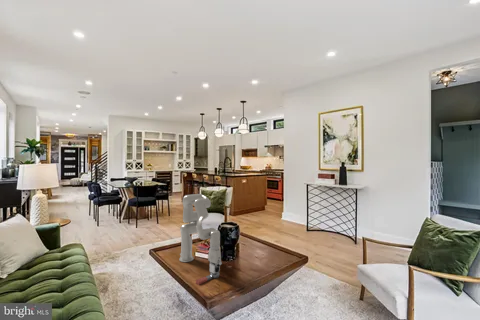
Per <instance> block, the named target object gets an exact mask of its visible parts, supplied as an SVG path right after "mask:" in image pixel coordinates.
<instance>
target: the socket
mask: <svg viewBox="0 0 480 320" xmlns="http://www.w3.org/2000/svg"><path fill="white" fill-rule="evenodd" d="M217 265H218V264H217ZM220 268H221V265H220V266H219V272H220V270H221V269H220ZM210 272H212V273H214V274H215V273H216V264H214V263H210V262H209V273H210Z"/></svg>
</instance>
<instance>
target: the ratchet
mask: <svg viewBox="0 0 480 320" xmlns="http://www.w3.org/2000/svg"><path fill="white" fill-rule="evenodd" d="M219 277H220V271H219V272H217V273H215V274H214V273H212V272H210V271H209V275H206V276H202V277H200V278H198V279H196V280H195V284H196V285H198V286H200V285H202V284H204V283H206V282H209V280H210V281H211V280H212V279H218V278H219Z"/></svg>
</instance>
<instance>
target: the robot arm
mask: <svg viewBox="0 0 480 320" xmlns="http://www.w3.org/2000/svg"><path fill="white" fill-rule="evenodd" d="M211 205H212V202H211V200H210V199H209V197H207V196H206V195H205V194H202V193H195V194H193V193H192V194H185V195H184V196H183V197H182V206H183V209H182V221H183V223H185V224H183V225H181V226H180V229H179V231H180V239H181V241H180V244H181V245H180V246H181V247H180V249H181V250H180V253H179V255H180V257H179V260H178V261H179V262H182V263H190V262H192V261H194V256H193V238H192V236H191V235H194V234H198V235H197V236H198V237H199V239H200V240H208V239H209V249H208V253H207V254H208V255H207V256H208V257H207V260H208V262H209V264H210V263H214V264H216V273H217V272H219V273H220V271H219V266H220V267H221V265H223V262H222V255H221V232H220V230H217V229H215V228H214V227H209V228H204V229H203V225H202V224H203V221H204V220H206V219H207V218H208V217H209V212H208V209H207V208H210V207H211ZM194 209H195V210H194ZM217 264H218V265H217Z"/></svg>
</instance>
